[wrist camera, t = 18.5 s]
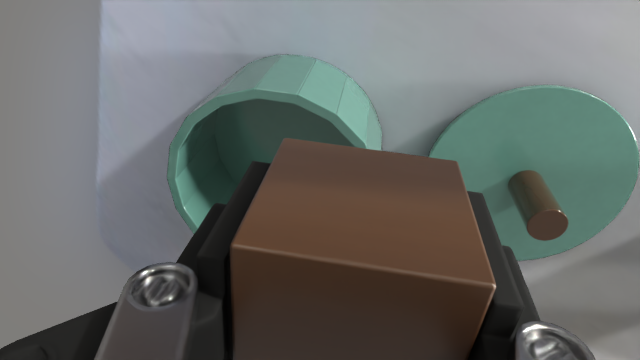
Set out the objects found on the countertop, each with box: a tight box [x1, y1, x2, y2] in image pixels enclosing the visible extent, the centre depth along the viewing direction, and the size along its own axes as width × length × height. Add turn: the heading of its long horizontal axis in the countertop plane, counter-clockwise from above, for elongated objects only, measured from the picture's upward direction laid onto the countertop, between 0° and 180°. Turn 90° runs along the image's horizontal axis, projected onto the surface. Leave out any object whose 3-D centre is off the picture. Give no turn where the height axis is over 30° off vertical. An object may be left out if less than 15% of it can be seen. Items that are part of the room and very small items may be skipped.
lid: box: [428, 85, 639, 261], centre depth 29 cm, size 14×14×6 cm
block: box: [230, 138, 496, 360], centre depth 10 cm, size 4×4×4 cm
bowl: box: [167, 54, 382, 234], centre depth 29 cm, size 13×13×8 cm
